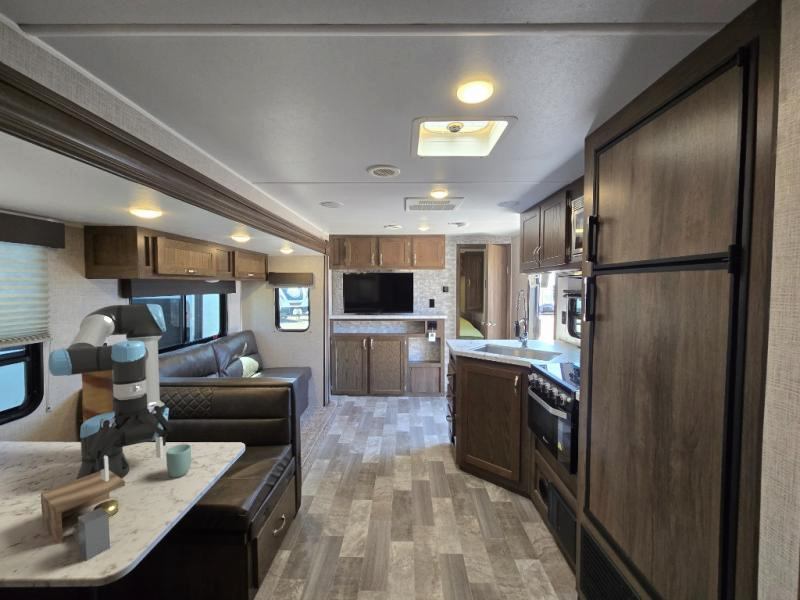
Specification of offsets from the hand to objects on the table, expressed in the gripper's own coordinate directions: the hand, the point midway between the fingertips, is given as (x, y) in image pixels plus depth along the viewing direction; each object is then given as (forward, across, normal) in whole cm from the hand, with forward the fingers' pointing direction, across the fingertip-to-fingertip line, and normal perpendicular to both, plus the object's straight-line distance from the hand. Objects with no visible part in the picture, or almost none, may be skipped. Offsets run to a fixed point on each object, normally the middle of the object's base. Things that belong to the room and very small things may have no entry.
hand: (134, 467), depth 100 cm
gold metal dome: (+20, -1, +18) cm, 27 cm away
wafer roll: (+20, +15, +66) cm, 70 cm away
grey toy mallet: (+20, -9, +8) cm, 23 cm away
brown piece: (+20, -4, +22) cm, 30 cm away
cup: (+20, +24, +22) cm, 38 cm away
